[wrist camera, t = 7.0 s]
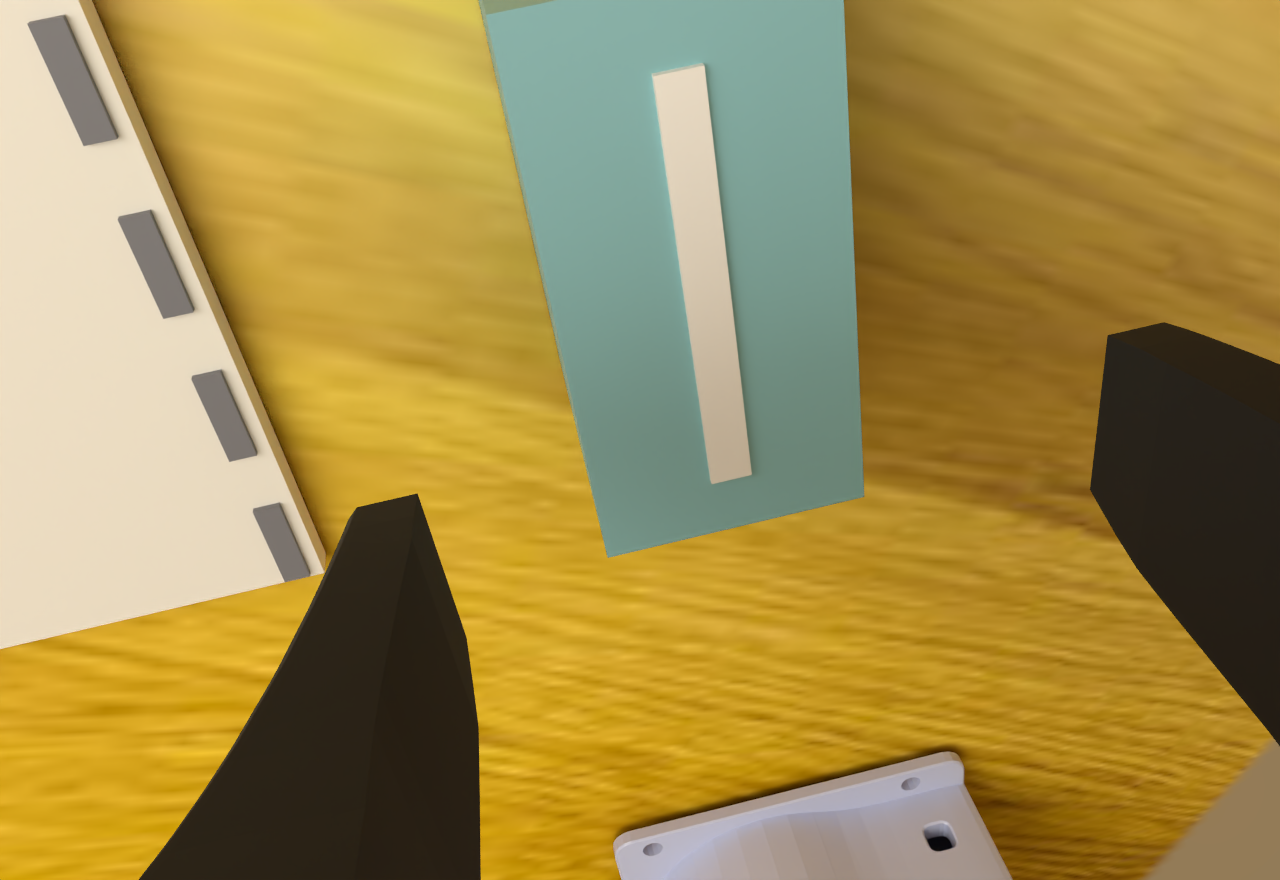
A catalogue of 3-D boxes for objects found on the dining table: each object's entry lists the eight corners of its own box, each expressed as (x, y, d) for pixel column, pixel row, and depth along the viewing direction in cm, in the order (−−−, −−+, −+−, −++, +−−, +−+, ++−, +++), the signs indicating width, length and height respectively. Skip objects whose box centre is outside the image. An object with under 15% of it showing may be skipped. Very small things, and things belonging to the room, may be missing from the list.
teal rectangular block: (722, -135, 17) (844, -58, 12) (766, 323, 22) (866, 500, 17) (459, -82, 17) (486, 18, 12) (562, 369, 21) (609, 561, 17)
